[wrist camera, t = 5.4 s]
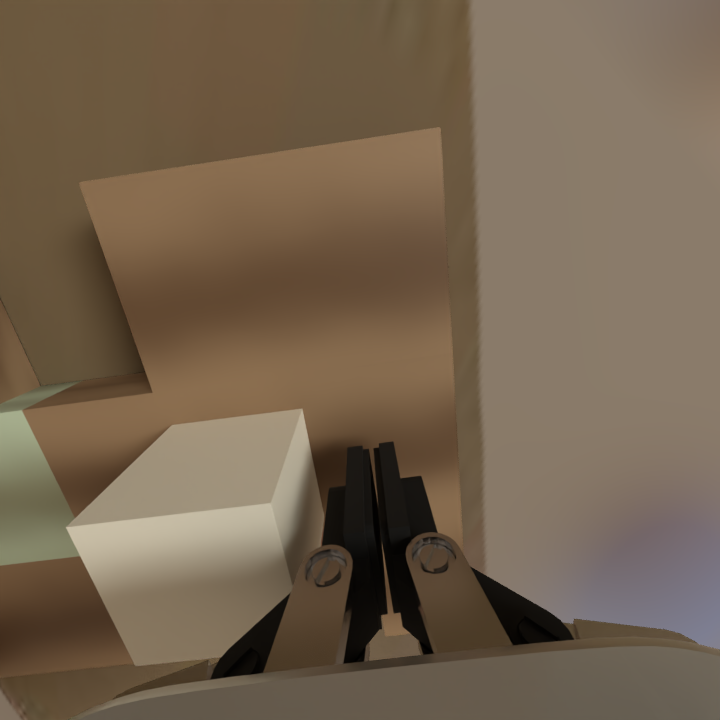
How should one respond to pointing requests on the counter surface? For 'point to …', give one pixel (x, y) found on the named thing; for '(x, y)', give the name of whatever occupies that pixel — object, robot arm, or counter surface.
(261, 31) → the counter surface
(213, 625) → the cream cube
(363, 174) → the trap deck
